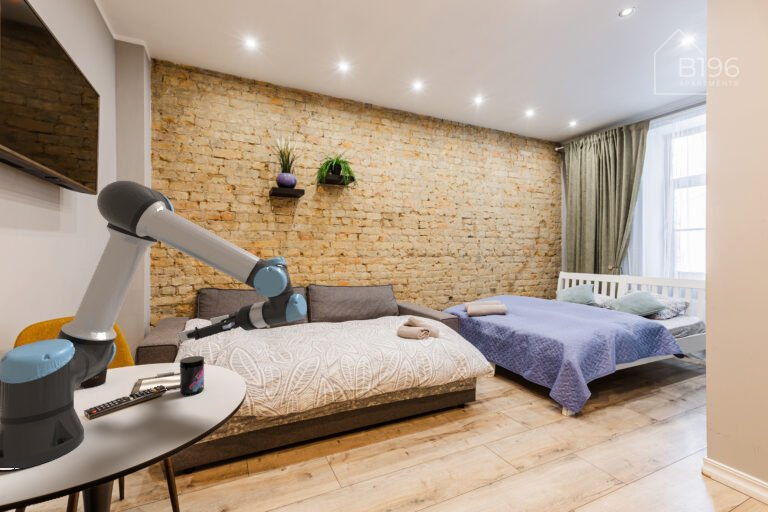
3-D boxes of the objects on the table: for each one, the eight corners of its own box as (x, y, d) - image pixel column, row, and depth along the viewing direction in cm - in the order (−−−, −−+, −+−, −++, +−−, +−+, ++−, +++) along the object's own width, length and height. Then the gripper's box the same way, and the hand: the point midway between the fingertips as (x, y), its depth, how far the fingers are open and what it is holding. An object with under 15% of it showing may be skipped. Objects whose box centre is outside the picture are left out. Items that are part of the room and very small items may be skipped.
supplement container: (184, 398, 104) (184, 364, 104) (176, 392, 108) (176, 359, 108) (207, 391, 109) (207, 359, 109) (199, 386, 113) (199, 354, 113)
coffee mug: (116, 380, 118) (116, 351, 118) (92, 390, 110) (92, 359, 109) (85, 378, 119) (85, 350, 119) (60, 388, 111) (59, 357, 111)
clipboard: (192, 386, 113) (192, 381, 113) (132, 396, 105) (132, 391, 105) (191, 373, 125) (191, 369, 125) (138, 381, 117) (138, 376, 117)
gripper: (234, 343, 91) (169, 356, 95) (279, 316, 115) (225, 327, 120) (226, 316, 90) (161, 330, 95) (273, 294, 115) (219, 307, 119)
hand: (197, 329), depth 107 cm, fingers open, 13 cm apart
